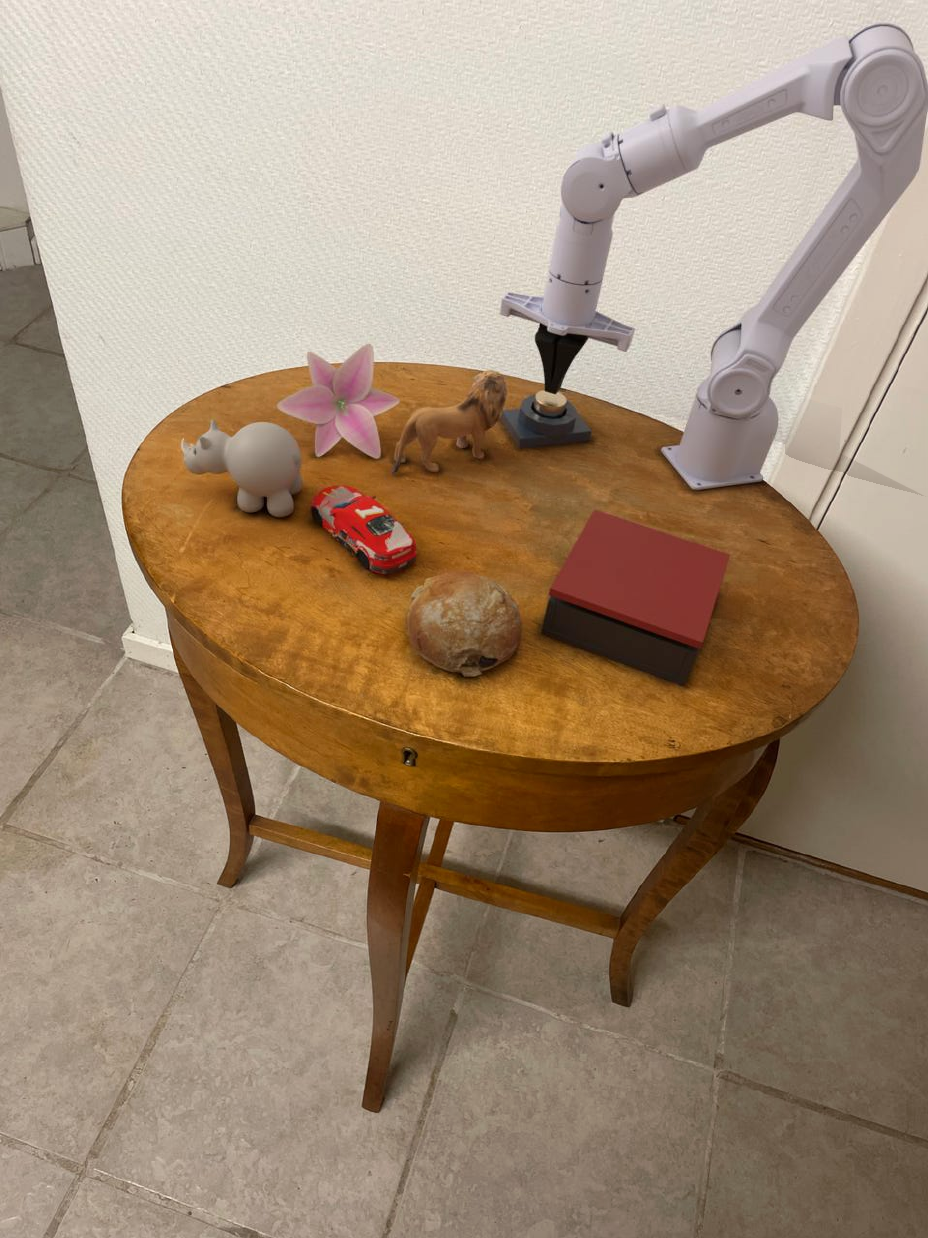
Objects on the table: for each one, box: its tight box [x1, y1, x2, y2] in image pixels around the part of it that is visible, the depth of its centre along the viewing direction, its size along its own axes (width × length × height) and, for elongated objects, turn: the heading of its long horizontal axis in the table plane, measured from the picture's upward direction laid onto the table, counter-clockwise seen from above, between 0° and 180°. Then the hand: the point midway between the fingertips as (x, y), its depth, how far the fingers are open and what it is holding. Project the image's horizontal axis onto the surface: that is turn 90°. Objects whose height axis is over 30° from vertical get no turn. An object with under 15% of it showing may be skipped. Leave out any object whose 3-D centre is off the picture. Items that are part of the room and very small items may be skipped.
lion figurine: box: [390, 369, 508, 474], centre depth 99 cm, size 15×5×9 cm, turn 130°
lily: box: [276, 343, 401, 459], centre depth 100 cm, size 12×12×10 cm
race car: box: [310, 485, 418, 575], centre depth 89 cm, size 13×5×4 cm, turn 39°
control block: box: [500, 393, 592, 449], centre depth 107 cm, size 9×6×3 cm
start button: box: [533, 389, 568, 419], centre depth 105 cm, size 4×4×2 cm
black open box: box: [540, 595, 700, 687], centre depth 85 cm, size 14×14×4 cm
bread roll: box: [406, 570, 523, 678], centre depth 81 cm, size 10×10×8 cm
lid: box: [548, 509, 731, 650], centre depth 83 cm, size 14×14×1 cm
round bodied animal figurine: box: [180, 419, 303, 518], centre depth 90 cm, size 7×12×8 cm, turn 80°
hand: (552, 388), depth 104 cm, fingers closed
